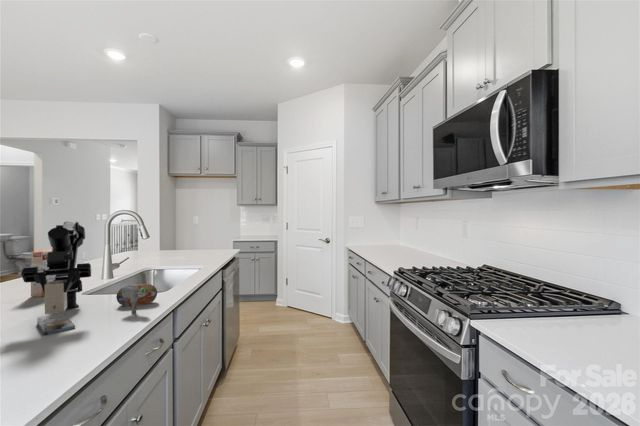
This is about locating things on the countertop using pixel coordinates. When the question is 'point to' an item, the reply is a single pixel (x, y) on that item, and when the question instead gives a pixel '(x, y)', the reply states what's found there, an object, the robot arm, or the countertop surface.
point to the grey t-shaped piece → (133, 294)
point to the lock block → (55, 297)
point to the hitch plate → (55, 325)
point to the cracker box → (41, 261)
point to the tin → (147, 299)
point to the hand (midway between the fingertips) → (55, 292)
